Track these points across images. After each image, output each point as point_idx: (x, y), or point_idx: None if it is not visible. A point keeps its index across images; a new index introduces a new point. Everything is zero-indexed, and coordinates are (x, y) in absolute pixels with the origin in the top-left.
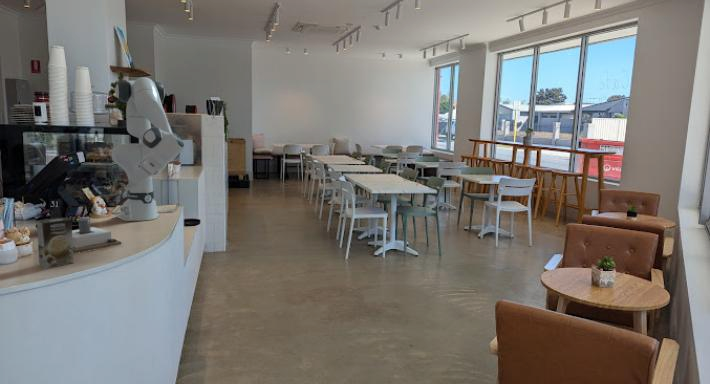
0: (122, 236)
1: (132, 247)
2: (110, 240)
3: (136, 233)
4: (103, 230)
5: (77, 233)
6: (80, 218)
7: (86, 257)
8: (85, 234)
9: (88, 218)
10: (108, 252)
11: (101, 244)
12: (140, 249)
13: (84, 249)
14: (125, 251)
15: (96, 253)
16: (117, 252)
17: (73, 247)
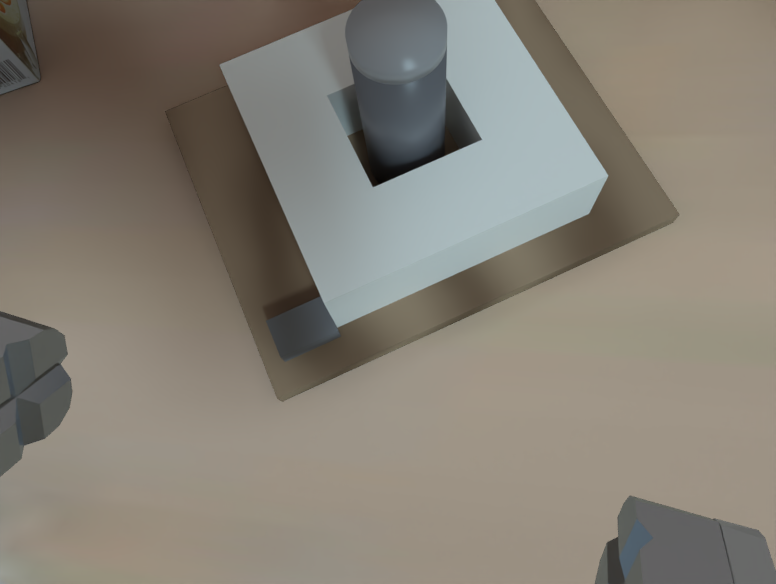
0: (575, 437)
1: (124, 471)
2: (283, 314)
3: None
4: (408, 248)
5: None
6: (377, 2)
7: (31, 173)
8: (311, 121)
9: (362, 65)
10: (75, 297)
11: (257, 256)
12: (23, 523)
13: (183, 155)
14: None
15: (95, 227)
16: None
17: None
